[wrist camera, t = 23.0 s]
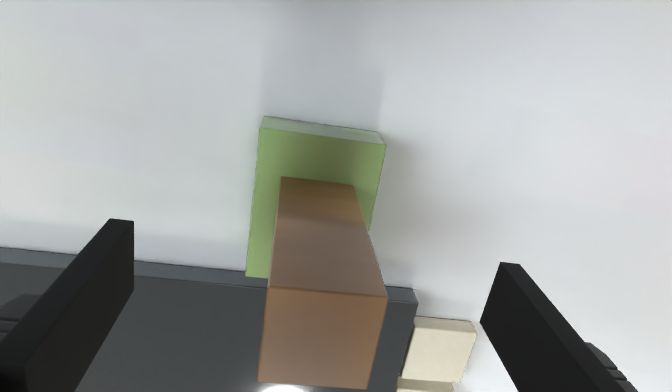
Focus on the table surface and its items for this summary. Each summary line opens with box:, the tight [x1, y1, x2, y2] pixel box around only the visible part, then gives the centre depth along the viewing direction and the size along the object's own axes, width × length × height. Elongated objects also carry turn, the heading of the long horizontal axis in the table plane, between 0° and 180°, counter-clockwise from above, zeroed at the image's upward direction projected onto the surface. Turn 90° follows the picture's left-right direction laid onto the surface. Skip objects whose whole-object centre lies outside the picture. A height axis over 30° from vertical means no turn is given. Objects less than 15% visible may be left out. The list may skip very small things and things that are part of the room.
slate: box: [0, 248, 418, 392], centre depth 28 cm, size 26×12×2 cm, turn 81°
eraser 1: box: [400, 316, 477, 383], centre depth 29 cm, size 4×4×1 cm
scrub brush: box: [245, 116, 388, 389], centre depth 20 cm, size 6×8×12 cm
